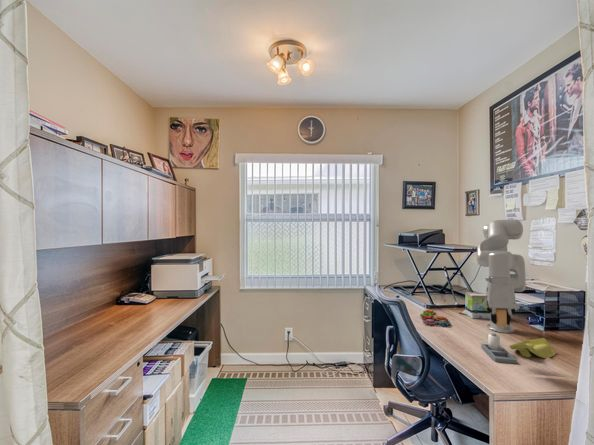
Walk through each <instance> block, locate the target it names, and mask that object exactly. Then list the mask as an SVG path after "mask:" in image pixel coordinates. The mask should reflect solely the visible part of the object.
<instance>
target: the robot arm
mask: <svg viewBox="0 0 594 445" xmlns="http://www.w3.org/2000/svg"><path fill="white" fill-rule="evenodd" d="M523 232H524V227H523V224H522V221H520V220H518V219H496V220H492V221H490V222H489V223H488V224H485V225H484V226H483V227H482V233H483V236H484V238H485V239H484V240H482V241H481V242H480V243H479V244H478V246H477V248H476V262H477V264H478V265H479V266H480V267H484V268H488V275H487V277H485V281H486V282H487V284H486V289H485V291H486V292H485V293H486V300H485V301H484V302H483V303H482V305H481V306H482V307H484V308H485V309H487V310H488V311H489V312H490V319H489V322H490V323H489V324H486V328H487V329H489V330H490V331H493V332H498V333H502V334H503V333H504V334H505V333H506V334H512V333H514V332H515V328H513V327H512V325H511V324H512V323H511V322H512V318H511V317H512V315H513V313H515V312H516V311H518V310H519V309H520V308H521V307H520V306H519V304H518V303H517V300H516V294H515V292H517V293H518V292H519V293H521V292H524V291H526V286H527V280H526V263H525V259H524V257H523V256H522V255H521V254H515V253H514V254H513V253H512V252H511V251H508V244H509V243H510V242H509V241H510V240H520V239H521V238H522V236H523ZM511 272H513V273H511ZM487 305H489V306H490V308H489V307H487ZM496 308H504V309H507V327H500V326H496V325H495V324H497V322H496V314H495V310H496Z"/></svg>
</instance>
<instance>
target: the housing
mask: <svg viewBox="0 0 594 445" xmlns="http://www.w3.org/2000/svg"><path fill="white" fill-rule="evenodd" d="M480 348H481V349H482V350H483V351H484V353H485V354H486V355H487V356H488V358H490V359H491V360H492V361H493V362H496V363H497V362H498V363H506V364H518V359H517V358H515V357H514V356H513V354H511V353H510V352H509V351H508V350H507V349H506V348H504V347H503V346H502V344H500V351H499V350H489V348H488V343H480Z"/></svg>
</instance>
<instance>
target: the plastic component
mask: <svg viewBox="0 0 594 445" xmlns="http://www.w3.org/2000/svg"><path fill="white" fill-rule="evenodd" d="M550 344H551V343H549V341H548V339H546V338H543V337H541V338H535V339H528V340H523V341H520V342H515V343H513V344H510V345H508V346H509V348H510V349H511V350H514V351H515V350H516V351H518V352H519V353H520V355H521V356H522V357H525V358H531V357H532V354H534V355H535V356H537V357H538V358H542V359H547V358H553V357H554V356H556V353H555V350H554V349H553V347H552V346H551V345H550ZM531 353H532V354H531Z"/></svg>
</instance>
